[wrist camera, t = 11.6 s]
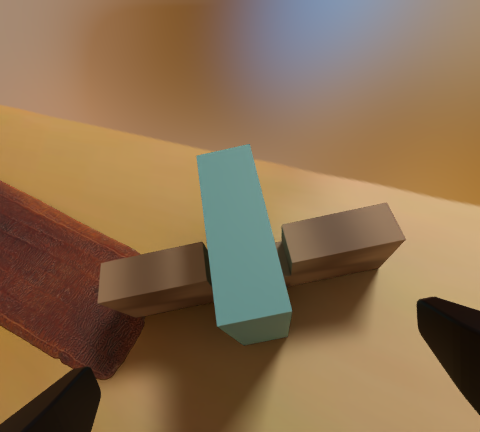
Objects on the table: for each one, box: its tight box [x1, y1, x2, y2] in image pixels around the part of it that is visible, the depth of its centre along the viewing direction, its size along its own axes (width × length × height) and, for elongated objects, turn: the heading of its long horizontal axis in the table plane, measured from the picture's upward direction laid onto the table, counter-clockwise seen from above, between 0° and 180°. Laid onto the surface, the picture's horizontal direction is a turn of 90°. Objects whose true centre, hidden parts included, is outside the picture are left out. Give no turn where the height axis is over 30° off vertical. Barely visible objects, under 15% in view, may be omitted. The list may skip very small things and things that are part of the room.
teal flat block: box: [197, 144, 292, 345], centre depth 17 cm, size 9×3×9 cm, turn 10°
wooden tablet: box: [0, 181, 145, 379], centre depth 24 cm, size 27×10×2 cm, turn 63°
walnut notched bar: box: [98, 203, 406, 318], centre depth 19 cm, size 18×2×5 cm, turn 100°
